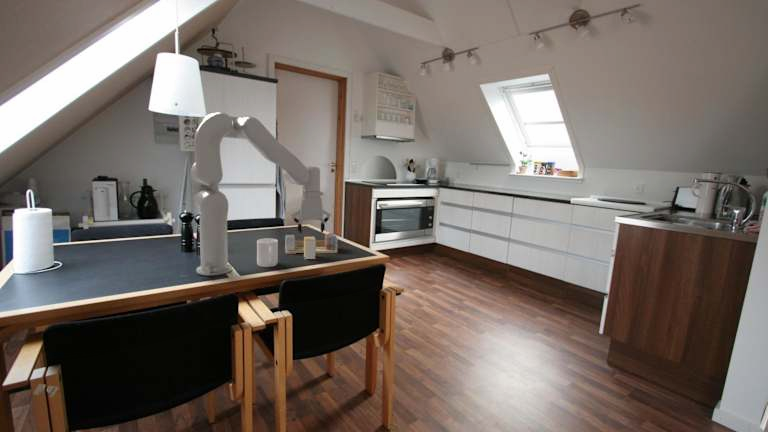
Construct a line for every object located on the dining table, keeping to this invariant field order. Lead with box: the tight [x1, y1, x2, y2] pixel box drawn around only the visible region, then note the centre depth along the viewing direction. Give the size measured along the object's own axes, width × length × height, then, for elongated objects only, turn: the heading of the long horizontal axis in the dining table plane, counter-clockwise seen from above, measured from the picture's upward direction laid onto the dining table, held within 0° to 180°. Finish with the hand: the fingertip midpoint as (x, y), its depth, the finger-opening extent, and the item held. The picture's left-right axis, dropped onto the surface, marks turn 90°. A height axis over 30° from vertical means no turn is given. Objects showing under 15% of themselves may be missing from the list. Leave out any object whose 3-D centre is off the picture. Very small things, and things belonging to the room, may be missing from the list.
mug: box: [256, 237, 279, 268], centre depth 151 cm, size 12×8×10 cm
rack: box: [284, 232, 339, 255], centre depth 177 cm, size 9×24×8 cm, turn 108°
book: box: [303, 236, 317, 260], centre depth 166 cm, size 7×4×9 cm, turn 18°
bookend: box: [284, 234, 296, 250], centre depth 174 cm, size 6×4×6 cm, turn 18°
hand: (311, 232), depth 165 cm, fingers open, 9 cm apart
